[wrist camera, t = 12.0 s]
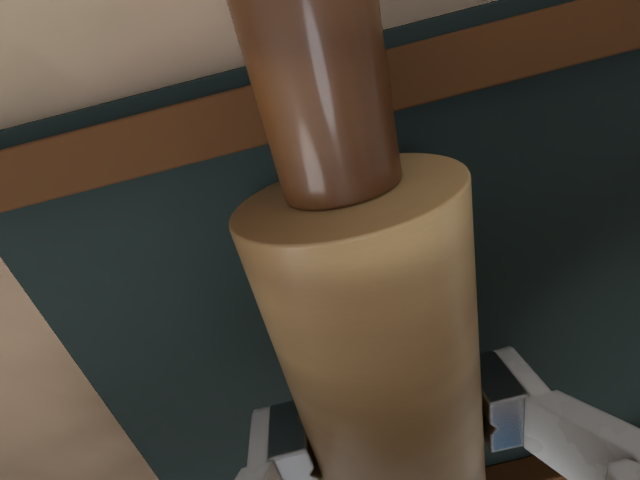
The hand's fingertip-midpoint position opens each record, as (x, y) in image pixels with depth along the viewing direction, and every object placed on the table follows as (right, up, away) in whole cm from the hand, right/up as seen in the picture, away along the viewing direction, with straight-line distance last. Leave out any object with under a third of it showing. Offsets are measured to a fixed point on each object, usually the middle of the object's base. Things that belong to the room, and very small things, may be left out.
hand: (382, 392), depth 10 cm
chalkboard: (+3, +2, +2) cm, 4 cm away
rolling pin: (0, +1, +2) cm, 2 cm away
